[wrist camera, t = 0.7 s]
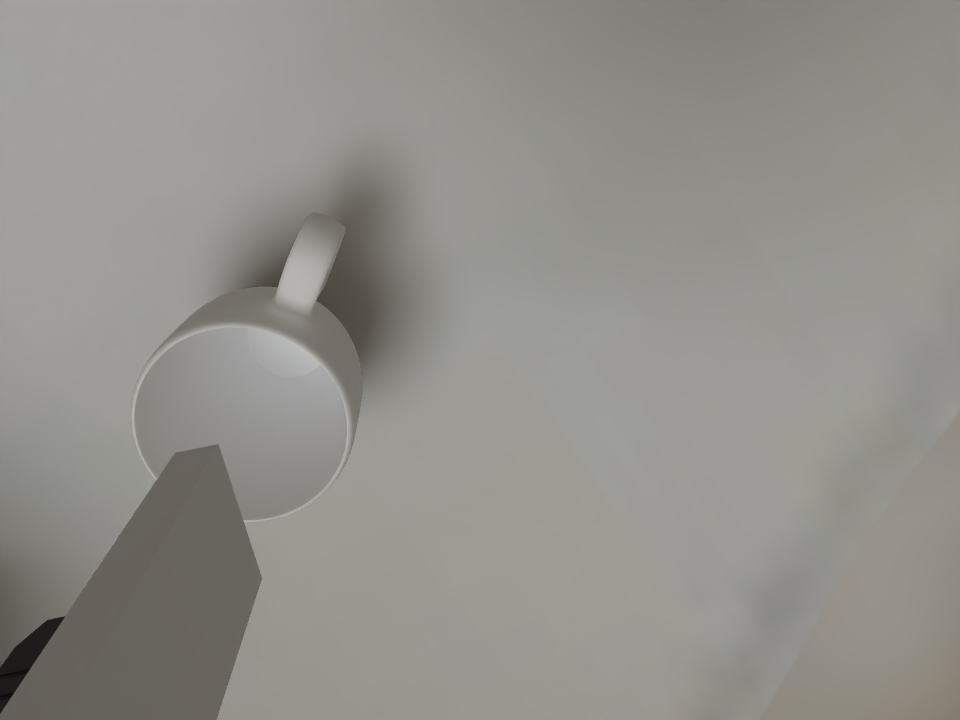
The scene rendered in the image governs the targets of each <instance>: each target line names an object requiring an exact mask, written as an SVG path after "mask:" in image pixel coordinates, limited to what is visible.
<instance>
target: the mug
mask: <svg viewBox="0 0 960 720" xmlns="http://www.w3.org/2000/svg"><path fill="white" fill-rule="evenodd" d="M344 234H345V227H344V226H343V224H341V223H340V222H339V221H337V220H335V219H334V218H332V217H329V216H327V215H324V214H319V213H312V214H310V215H309V216H308V217H307V219H306V220H305V222H304V223H303V225H302V227H301V229H300V231H299V233H298V235H297V237H296V240H295V242H294V244H293V246H292V249H291V251H290V254H289V256H288V258H287V261H286V264H285V266H284V269H283V272H282V275H281V278H280V281H279V285H278V287H252V288H245V289H241V290H237V291H234V292H231V293H228V294H225V295H223V296H220V297H218V298H216V299H214V300H212V301H211V302H209V303H207V304H206V305H204V306H203V307H201V308H200V309H198V310H197V311H196V312H195V313H193V314H192V315H191V316H190V317H189V318H188V319H187V320H185V321H184V322H183V323H182V324H181V325H180V326H179V327H178V328H177V329H176V330H175V331H174V332H173V333H172V334H171V335H170V336H169V337H168V338H167V339H166V340H165V341H164V342H163V343H162V344H161V345H160V346H159V347H158V349H157V350H156V351H155V352H154V353H153V355H152V356H151V357H150V359H149V360H148V362H147V363H146V365H145V366H144V368H143V370H142V372H141V374H140V376H139V378H138V381H137V383H136V386H135V390H134V393H133V398H132V405H131V425H132V432H133V437H134V441H135V444H136V447H137V450H138V452H139V455H140V457H141V459H142V461H143V463H144V464H145V466H146V468H147V469H148V471H149V472H150V474H151V475H152V476H153V478H154V479H155V480H157V479H158V477H159V476H160V474H161V473H162V471H163V470H164V468H165V467H166V465H167V464H168V462H169V461H170V459H171V458H172V456H173V455H174V453H176V452H181V451H186V450H191V449H196V448H201V447H206V446H211V445H216V444H219V447H220V450H221V453H222V456H223V459H224V463H225V466H226V469H227V472H228V475H229V478H230V481H231V484H232V487H233V490H234V493H235V496H236V500H237V503H238V506H239V509H240V512H241V515H242V518H243V521H244V522H260V521H268V520H273V519H277V518H281V517H284V516H287V515H290V514H292V513H295V512H297V511H299V510H301V509H303V508H305V507H306V506H308V505H310V504H311V503H313V502H314V501H315V500H317V499H318V498H319V497H320V496H321V495H323V494H324V493H325V492H326V491H327V490H328V489H329V488H330V487H331V485H332V484H333V483H334V482H335V480H336V479H337V478H338V476H339V475H340V473H341V472H342V470H343V468H344V466H345V464H346V462H347V460H348V457H349V455H350V452H351V449H352V446H353V442H354V438H355V433H356V428H357V423H358V417H359V412H360V406H361V399H362V373H361V366H360V361H359V358H358V354H357V351H356V348H355V346H354V344H353V342H352V339H351V338H350V336H349V334H348V332H347V331H346V329H345V328H344V326H343V325H342V324H341V322H340V321H339V320H338V319H337V318H336V317H335V315H334V314H333V313H331V312H330V311H329V310H328V309H327V308H326V307H324V306H323V305H322V304H320V303H319V302H317V301H316V300H317V298H318V296H319V295H320V293H321V292H322V290H323V288H324V287H325V285H326V282H327V280H328V277H329V275H330V272H331V269H332V267H333V264H334V261H335V259H336V256H337V253H338V251H339V248H340V245H341V243H342V240H343V237H344Z"/></svg>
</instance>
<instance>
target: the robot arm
mask: <svg viewBox="0 0 960 720" xmlns="http://www.w3.org/2000/svg"><path fill="white" fill-rule="evenodd" d="M261 580H262V577H261V574H260V570H259V567H258V564H257V561H256V558H255V555H254V552H253V549H252V546H251V543H250V540H249V537H248V533H247V530H246V527H245V524H244V521H243V518H242V515H241V512H240V509H239V506H238V503H237V500H236V496H235V493H234V490H233V487H232V484H231V481H230V478H229V475H228V472H227V469H226V466H225V463H224V459H223V456H222V453H221V450H220V447H219V444H216V445H211V446H206V447H201V448H196V449H191V450H186V451H181V452H176V453H174V455H173V456H172V458H171V459H170V461H169V462H168V464H167V465H166V467H165V468H164V470H163V471H162V473H161V474H160V476H159V477H158V479H157V480H156V482H155V483H154V485H153V486H152V488H151V489H150V491H149V492H148V494H147V495H146V497H145V498H144V500H143V501H142V503H141V504H140V506H139V507H138V509H137V510H136V512H135V513H134V515H133V516H132V518H131V519H130V521H129V522H128V524H127V525H126V527H125V528H124V530H123V531H122V533H121V534H120V536H119V537H118V539H117V540H116V542H115V543H114V545H113V546H112V548H111V549H110V551H109V552H108V554H107V555H106V557H105V558H104V560H103V561H102V562H101V564H100V565H99V567H98V568H97V570H96V571H95V573H94V574H93V576H92V577H91V579H90V580H89V582H88V583H87V585H86V586H85V588H84V589H83V591H82V592H81V594H80V595H79V597H78V598H77V600H76V601H75V603H74V604H73V606H72V607H71V609H70V610H69V612H68V613H67V615H66V616H65V617H60V618H55V619H50V620H47V621H46V622H44V623H43V624H42V625H41V626H40V627H39V628H37V629H36V630H35V631H34V632H33V633H31V634H30V635H29V636H28V637H27V638H26V639H24V640H23V641H22V642H21V643H20V644H19V645H17V646H16V647H15V648H14V650H13V651H12V652H11V654H10V655H9V656H8V658H7V659H6V661H5V662H4V663H3V665H2V666H1V668H0V720H216V719H217V716H218V713H219V710H220V707H221V704H222V701H223V697H224V694H225V691H226V688H227V685H228V682H229V679H230V676H231V673H232V670H233V667H234V663H235V660H236V657H237V654H238V651H239V648H240V645H241V642H242V639H243V636H244V632H245V629H246V626H247V623H248V620H249V617H250V614H251V611H252V608H253V605H254V602H255V598H256V595H257V592H258V589H259V586H260V583H261Z"/></svg>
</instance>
